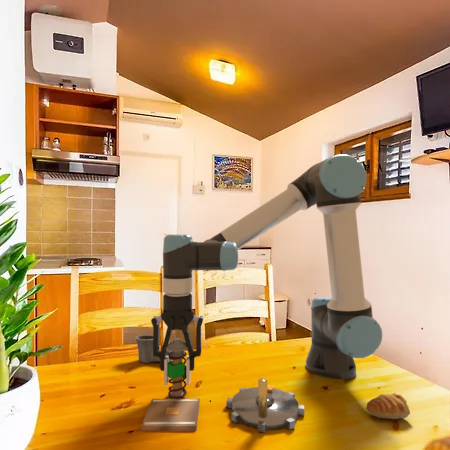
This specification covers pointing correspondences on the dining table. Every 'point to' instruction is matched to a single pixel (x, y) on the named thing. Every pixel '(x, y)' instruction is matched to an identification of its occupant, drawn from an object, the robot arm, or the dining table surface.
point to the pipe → (147, 349)
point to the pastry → (388, 406)
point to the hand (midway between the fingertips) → (177, 382)
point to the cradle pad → (172, 415)
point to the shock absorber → (177, 368)
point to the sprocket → (265, 407)
